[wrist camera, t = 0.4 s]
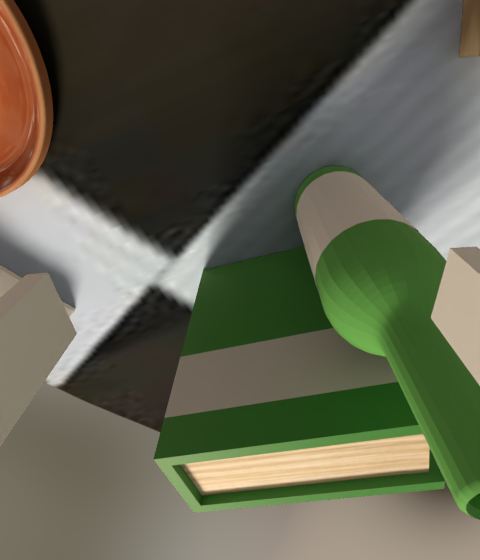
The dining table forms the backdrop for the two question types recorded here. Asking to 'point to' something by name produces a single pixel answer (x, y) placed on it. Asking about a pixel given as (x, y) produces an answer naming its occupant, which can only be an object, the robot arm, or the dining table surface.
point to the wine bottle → (393, 312)
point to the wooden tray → (470, 29)
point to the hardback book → (283, 400)
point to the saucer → (21, 101)
